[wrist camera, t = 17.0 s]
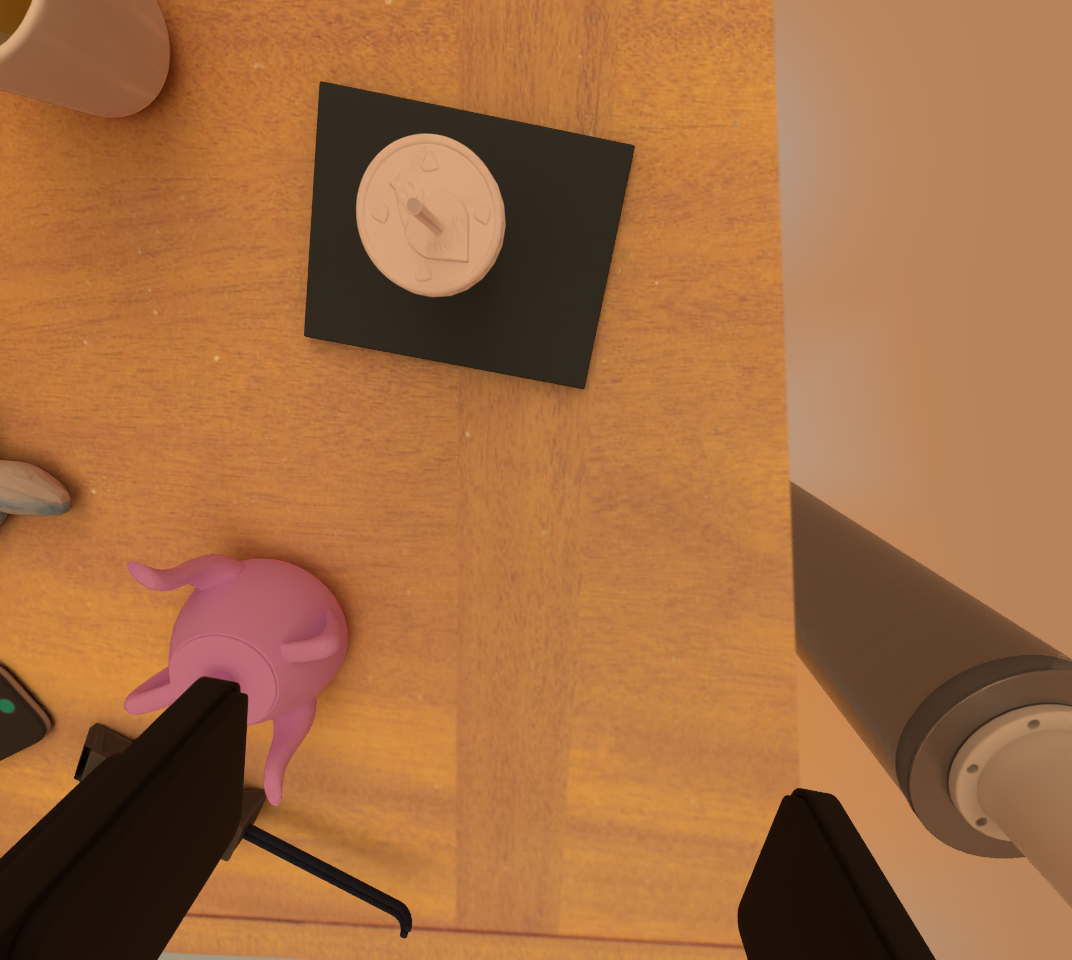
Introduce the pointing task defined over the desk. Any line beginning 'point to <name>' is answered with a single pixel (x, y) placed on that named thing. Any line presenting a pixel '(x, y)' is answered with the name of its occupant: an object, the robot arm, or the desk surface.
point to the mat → (521, 266)
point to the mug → (84, 53)
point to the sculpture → (30, 491)
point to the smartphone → (19, 717)
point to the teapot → (250, 644)
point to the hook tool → (254, 831)
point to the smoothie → (430, 215)
